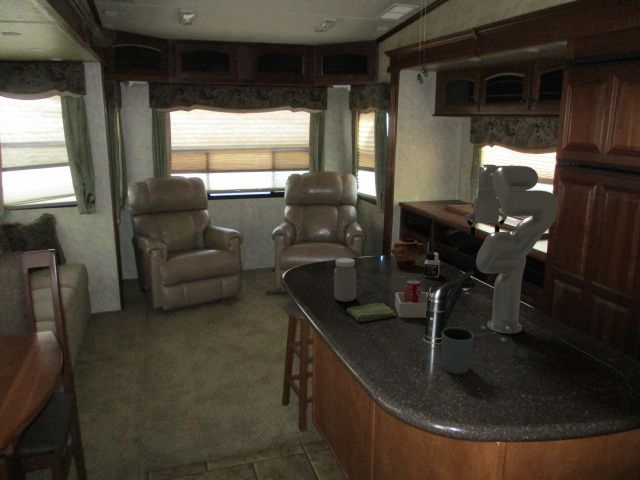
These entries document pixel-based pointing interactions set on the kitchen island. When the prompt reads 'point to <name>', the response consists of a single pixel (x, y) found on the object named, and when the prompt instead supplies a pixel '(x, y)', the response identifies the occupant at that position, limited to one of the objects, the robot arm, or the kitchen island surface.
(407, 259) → the decorative planter
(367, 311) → the washcloth
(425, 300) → the tote
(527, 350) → the kitchen island surface
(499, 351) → the kitchen island surface
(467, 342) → the grey teal cup
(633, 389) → the kitchen island surface
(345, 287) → the jar
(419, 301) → the soda can
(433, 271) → the medicine bottle
